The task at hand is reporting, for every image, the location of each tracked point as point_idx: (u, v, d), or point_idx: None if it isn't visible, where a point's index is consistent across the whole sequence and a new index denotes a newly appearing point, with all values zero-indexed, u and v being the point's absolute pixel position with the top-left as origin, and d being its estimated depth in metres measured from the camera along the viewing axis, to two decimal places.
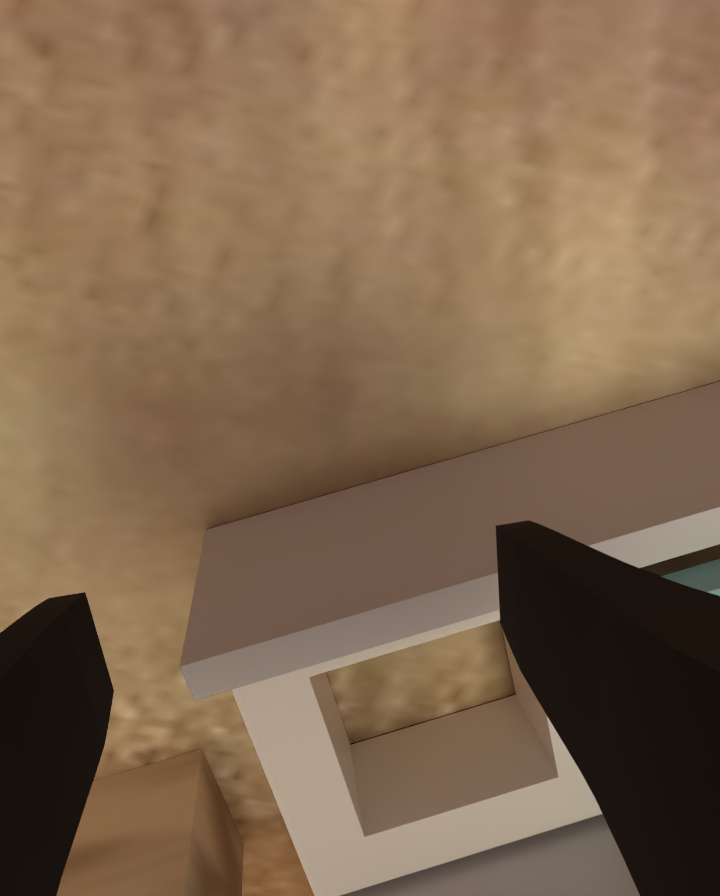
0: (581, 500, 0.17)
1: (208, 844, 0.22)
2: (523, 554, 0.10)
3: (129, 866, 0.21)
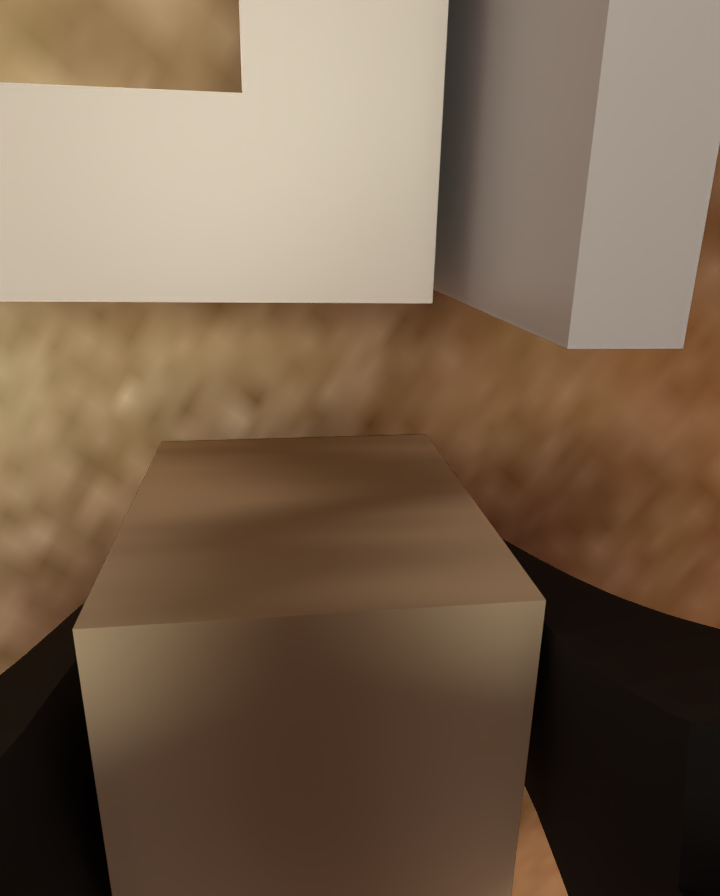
0: None
1: (236, 499, 0.10)
2: None
3: None
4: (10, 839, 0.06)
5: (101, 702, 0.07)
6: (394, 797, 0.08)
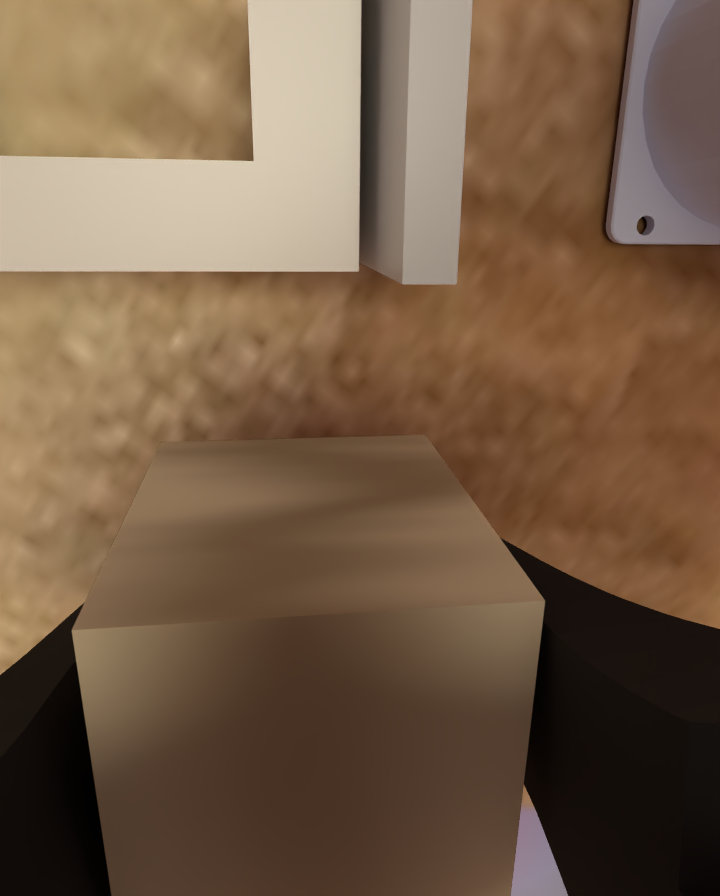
0: None
1: (236, 500, 0.10)
2: None
3: None
4: (8, 839, 0.06)
5: (100, 703, 0.07)
6: (394, 798, 0.08)
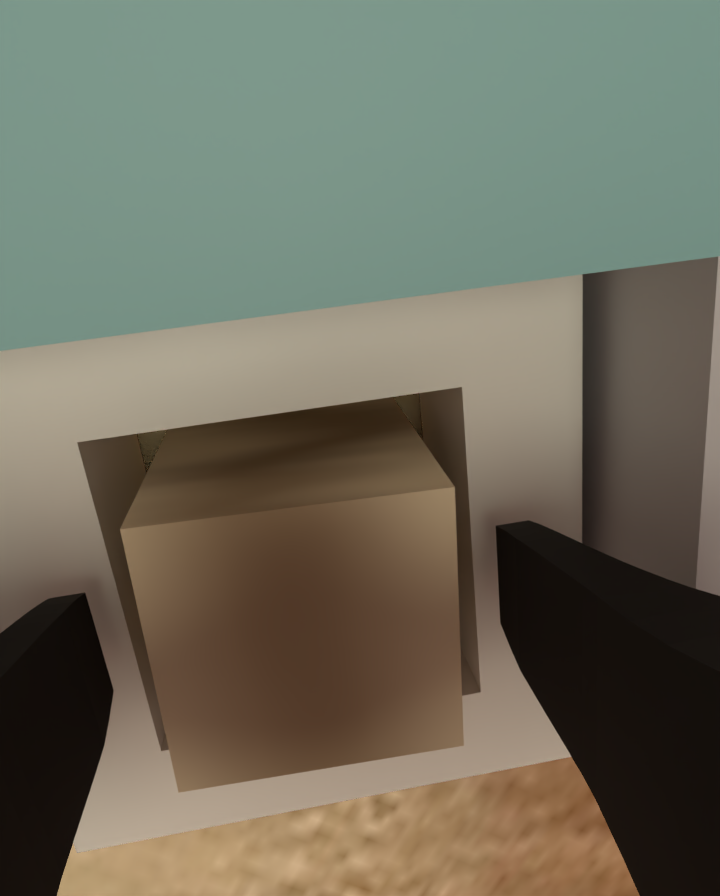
0: None
1: (234, 448, 0.13)
2: (523, 554, 0.10)
3: None
4: None
5: (144, 582, 0.10)
6: (363, 646, 0.11)
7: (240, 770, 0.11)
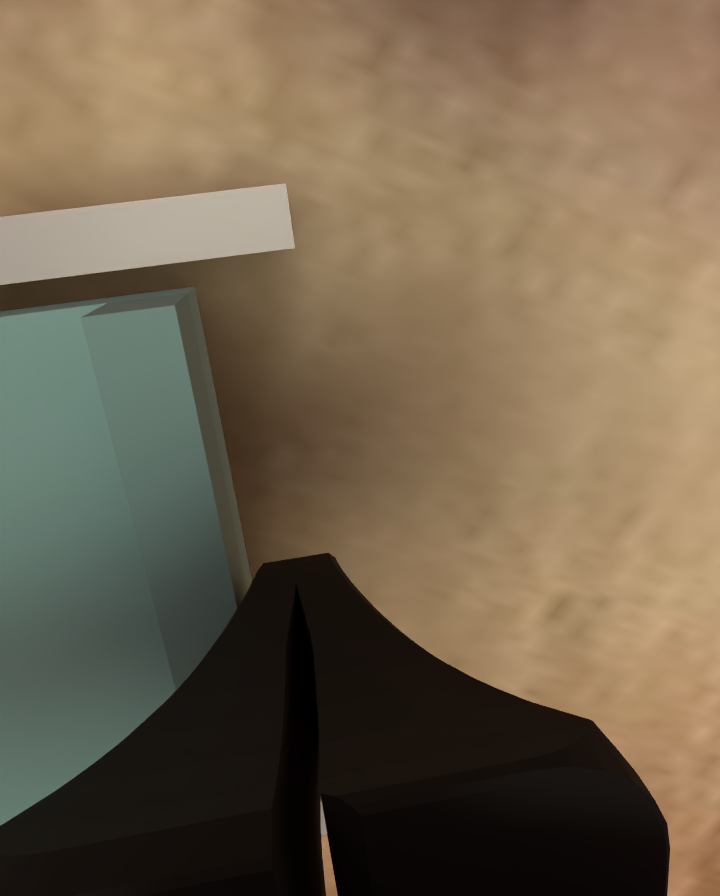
0: None
1: None
2: None
3: None
4: (295, 784, 0.06)
5: None
6: None
7: None
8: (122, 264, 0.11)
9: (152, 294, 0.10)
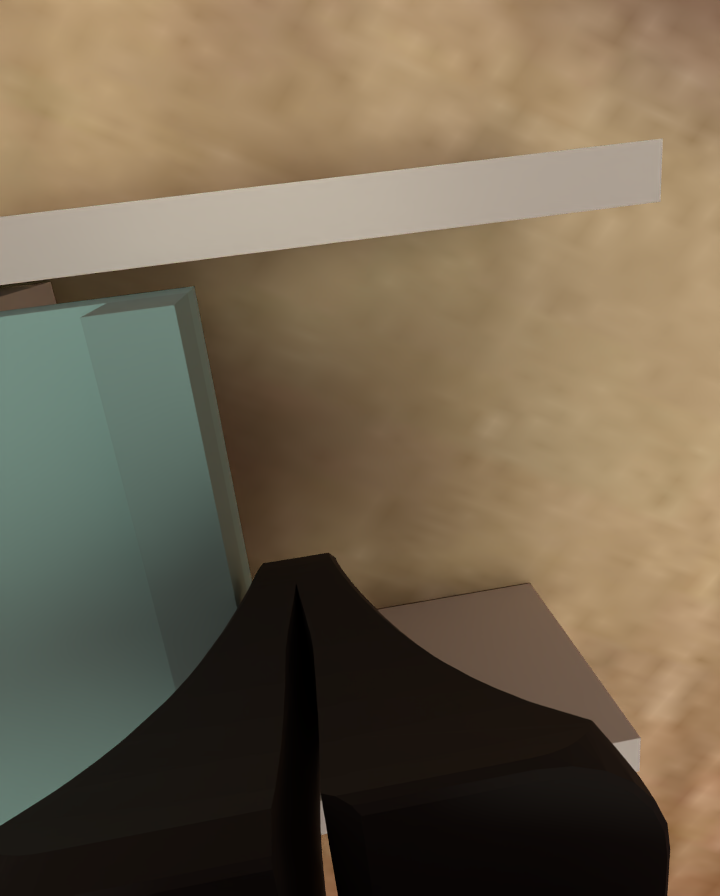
0: None
1: None
2: (297, 592, 0.10)
3: None
4: (295, 784, 0.06)
5: None
6: None
7: None
8: (503, 216, 0.11)
9: (152, 294, 0.10)
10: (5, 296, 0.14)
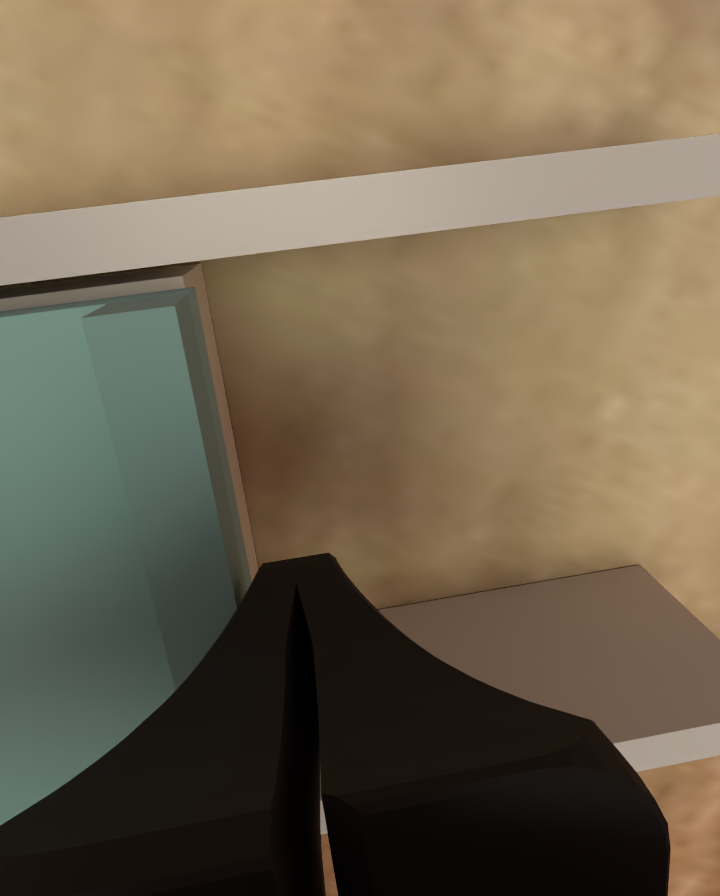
0: None
1: None
2: (297, 592, 0.10)
3: None
4: (295, 784, 0.06)
5: None
6: None
7: None
8: (716, 191, 0.12)
9: (152, 294, 0.11)
10: (187, 273, 0.15)
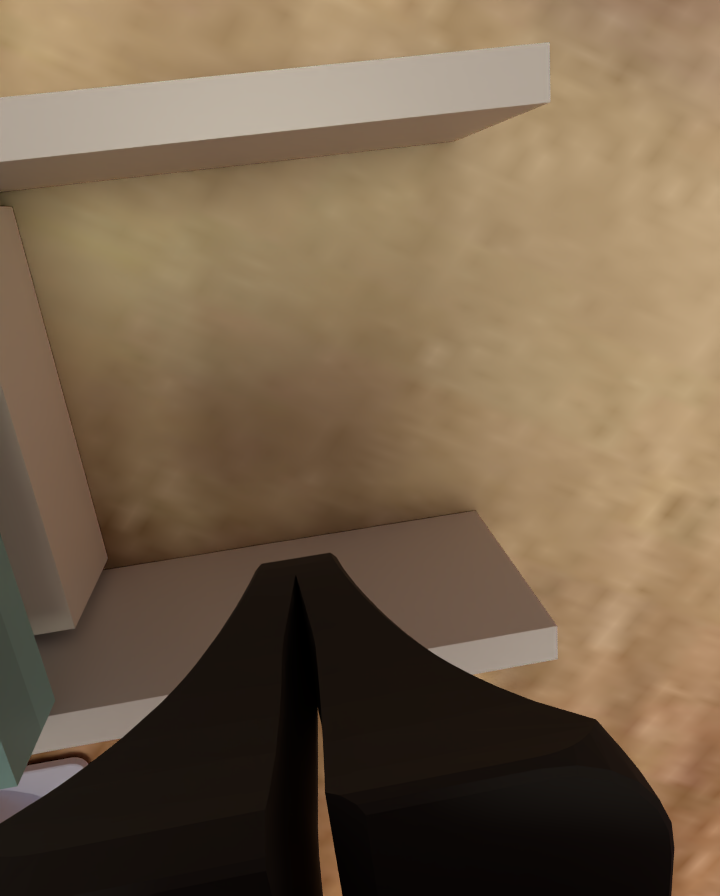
0: None
1: None
2: (299, 591, 0.10)
3: None
4: (290, 785, 0.06)
5: None
6: None
7: None
8: (405, 113, 0.12)
9: None
10: None
